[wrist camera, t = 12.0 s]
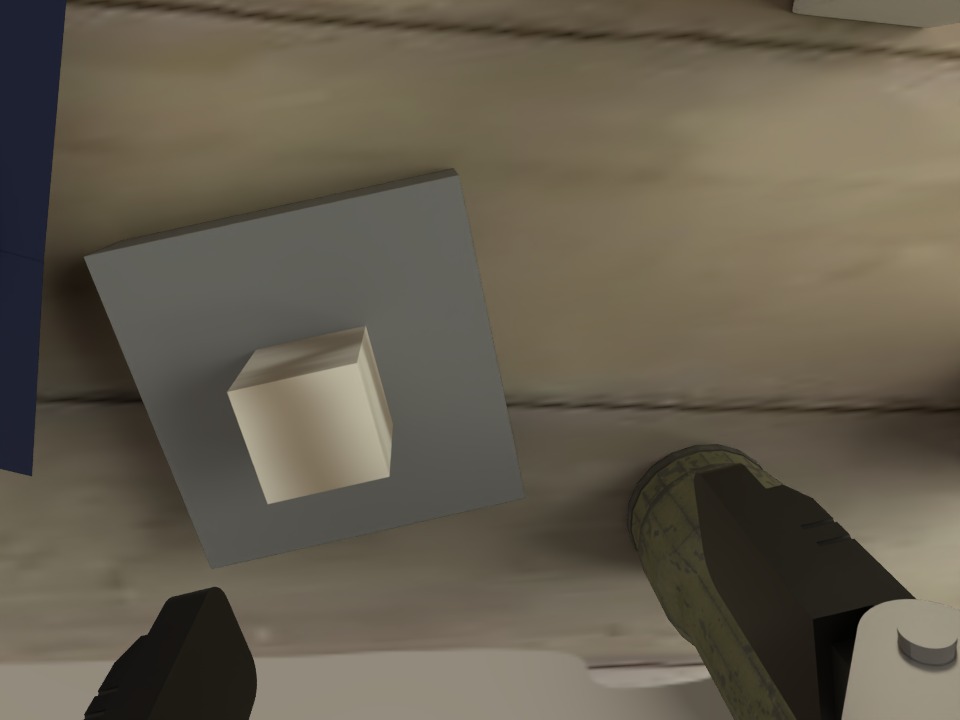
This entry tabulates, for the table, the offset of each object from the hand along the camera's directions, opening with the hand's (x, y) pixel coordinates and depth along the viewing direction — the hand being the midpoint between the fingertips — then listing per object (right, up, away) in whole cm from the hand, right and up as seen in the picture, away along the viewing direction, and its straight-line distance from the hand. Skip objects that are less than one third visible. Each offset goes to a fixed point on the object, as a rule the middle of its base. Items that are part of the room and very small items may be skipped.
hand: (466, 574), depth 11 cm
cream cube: (-7, +2, +20) cm, 21 cm away
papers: (-33, +12, +19) cm, 39 cm away
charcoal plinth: (-7, +4, +24) cm, 25 cm away
